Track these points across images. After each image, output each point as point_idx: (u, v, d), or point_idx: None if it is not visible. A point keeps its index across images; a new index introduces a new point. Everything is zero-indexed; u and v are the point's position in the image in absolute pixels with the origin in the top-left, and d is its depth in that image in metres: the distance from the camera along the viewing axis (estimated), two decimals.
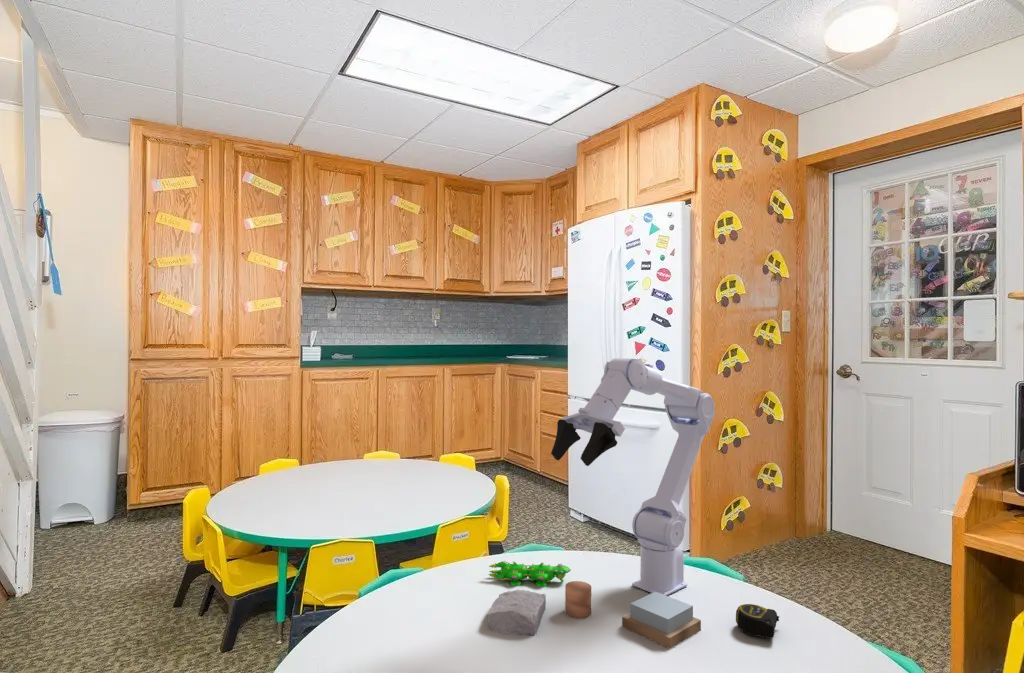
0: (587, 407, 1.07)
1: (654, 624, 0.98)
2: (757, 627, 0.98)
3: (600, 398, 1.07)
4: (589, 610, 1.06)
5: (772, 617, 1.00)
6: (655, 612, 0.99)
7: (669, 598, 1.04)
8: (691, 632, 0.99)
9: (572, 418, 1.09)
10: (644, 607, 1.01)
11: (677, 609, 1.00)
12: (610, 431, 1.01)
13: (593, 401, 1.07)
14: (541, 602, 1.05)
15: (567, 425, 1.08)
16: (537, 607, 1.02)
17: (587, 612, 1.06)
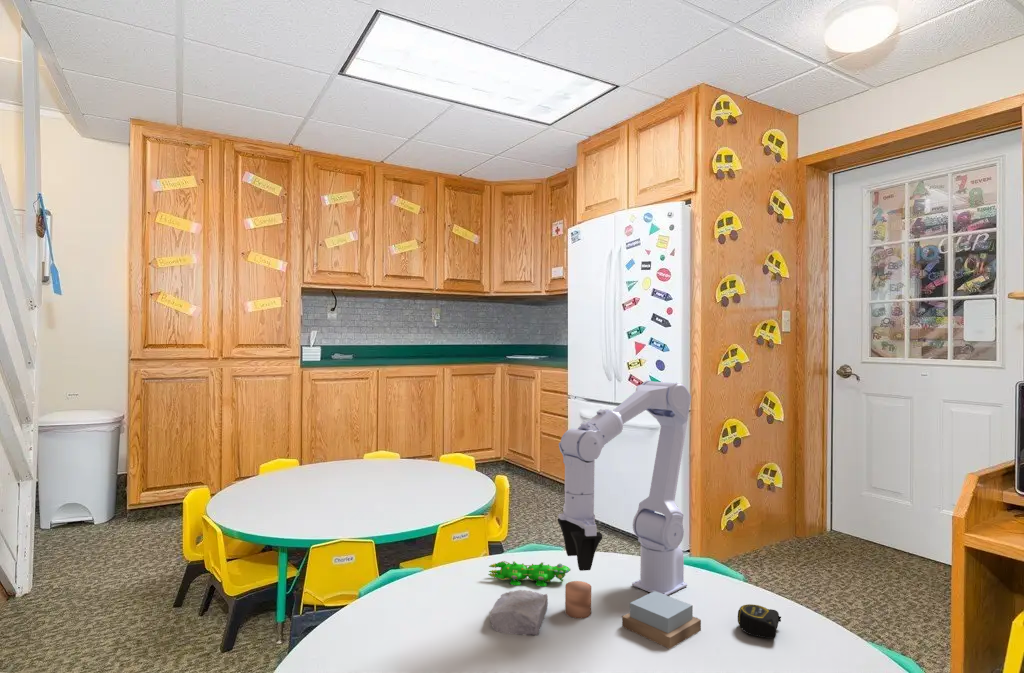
0: (564, 508, 1.08)
1: (654, 623, 0.98)
2: (759, 627, 0.98)
3: (568, 496, 1.07)
4: (589, 610, 1.06)
5: (774, 618, 1.00)
6: (655, 611, 0.99)
7: (669, 597, 1.05)
8: (691, 632, 0.99)
9: None
10: (644, 606, 1.01)
11: (677, 609, 1.00)
12: (585, 536, 1.02)
13: (565, 500, 1.08)
14: (543, 602, 1.05)
15: (564, 523, 1.11)
16: (539, 607, 1.01)
17: (587, 612, 1.06)
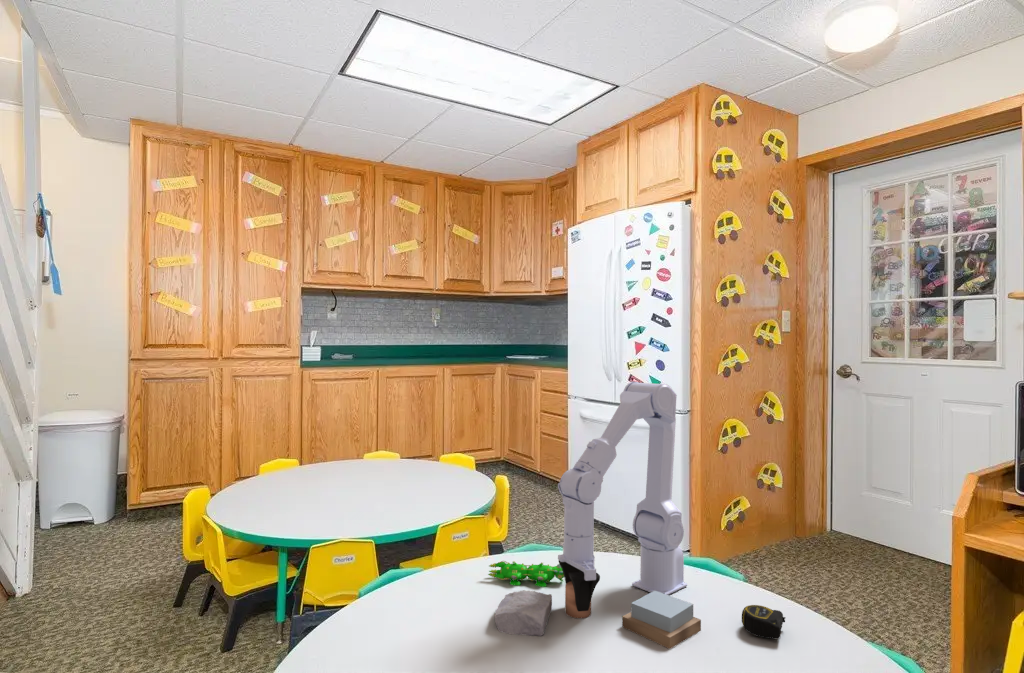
0: (564, 549, 1.08)
1: (656, 623, 0.98)
2: (763, 628, 0.98)
3: (567, 538, 1.07)
4: (589, 610, 1.06)
5: (778, 618, 0.99)
6: (657, 611, 0.99)
7: (669, 597, 1.05)
8: (691, 631, 0.99)
9: None
10: (645, 606, 1.01)
11: (679, 608, 1.00)
12: (583, 578, 1.03)
13: (564, 542, 1.07)
14: (547, 603, 1.05)
15: (565, 565, 1.10)
16: (544, 608, 1.01)
17: (587, 612, 1.06)
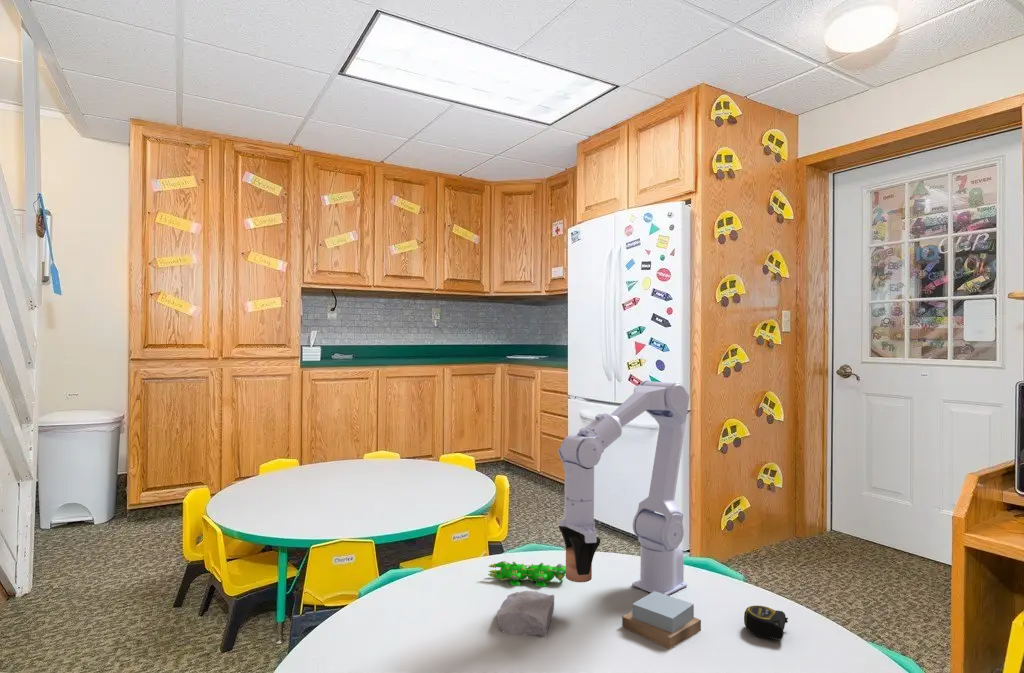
0: (564, 514, 1.08)
1: (658, 624, 0.98)
2: (766, 628, 0.98)
3: (568, 502, 1.07)
4: (589, 574, 1.06)
5: (781, 619, 0.99)
6: (659, 612, 0.99)
7: (669, 597, 1.05)
8: (691, 632, 0.99)
9: None
10: (647, 607, 1.00)
11: (680, 608, 1.00)
12: (583, 541, 1.03)
13: (565, 507, 1.08)
14: (550, 603, 1.05)
15: (566, 531, 1.10)
16: (547, 608, 1.01)
17: (588, 576, 1.06)
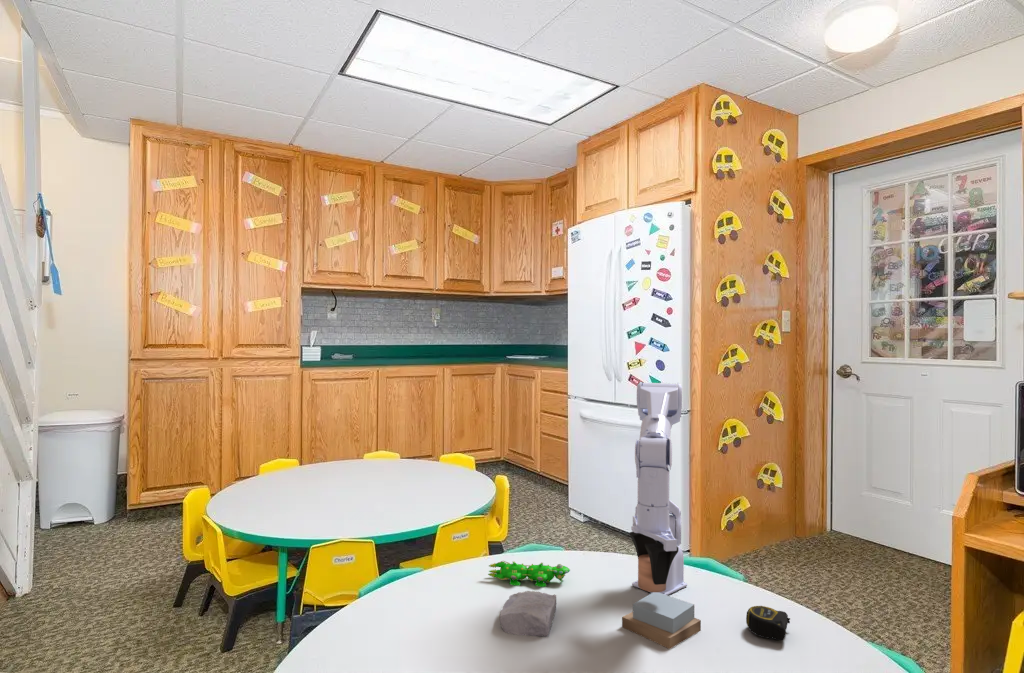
0: (638, 520, 1.03)
1: (658, 624, 0.98)
2: (768, 629, 0.97)
3: (642, 508, 1.01)
4: (664, 584, 1.01)
5: (783, 619, 0.99)
6: (659, 612, 0.99)
7: (670, 597, 1.05)
8: (691, 632, 0.99)
9: None
10: (647, 607, 1.00)
11: (680, 609, 1.00)
12: (661, 549, 0.98)
13: (639, 512, 1.02)
14: (552, 603, 1.05)
15: (638, 538, 1.05)
16: (549, 608, 1.01)
17: (662, 586, 1.00)
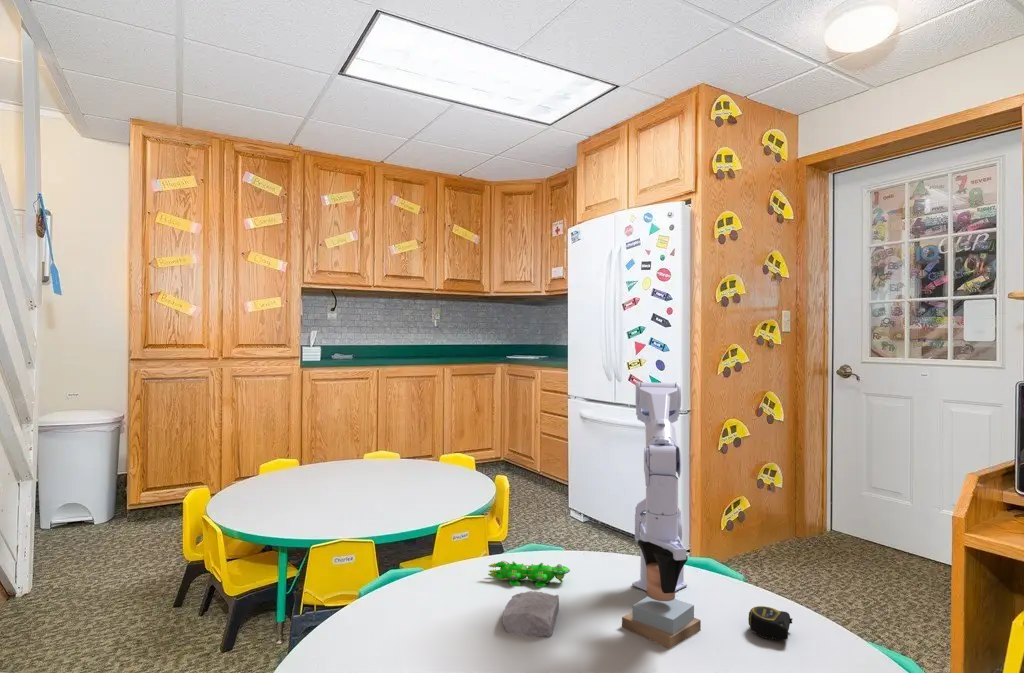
0: (646, 528, 1.02)
1: (658, 625, 0.98)
2: (771, 629, 0.97)
3: (651, 516, 1.01)
4: (673, 593, 1.00)
5: (786, 620, 0.99)
6: (659, 613, 0.98)
7: None
8: (691, 632, 0.99)
9: None
10: (647, 608, 1.00)
11: (680, 609, 1.00)
12: (671, 558, 0.97)
13: (647, 521, 1.02)
14: (555, 603, 1.05)
15: (646, 546, 1.04)
16: (552, 609, 1.01)
17: (671, 595, 1.00)
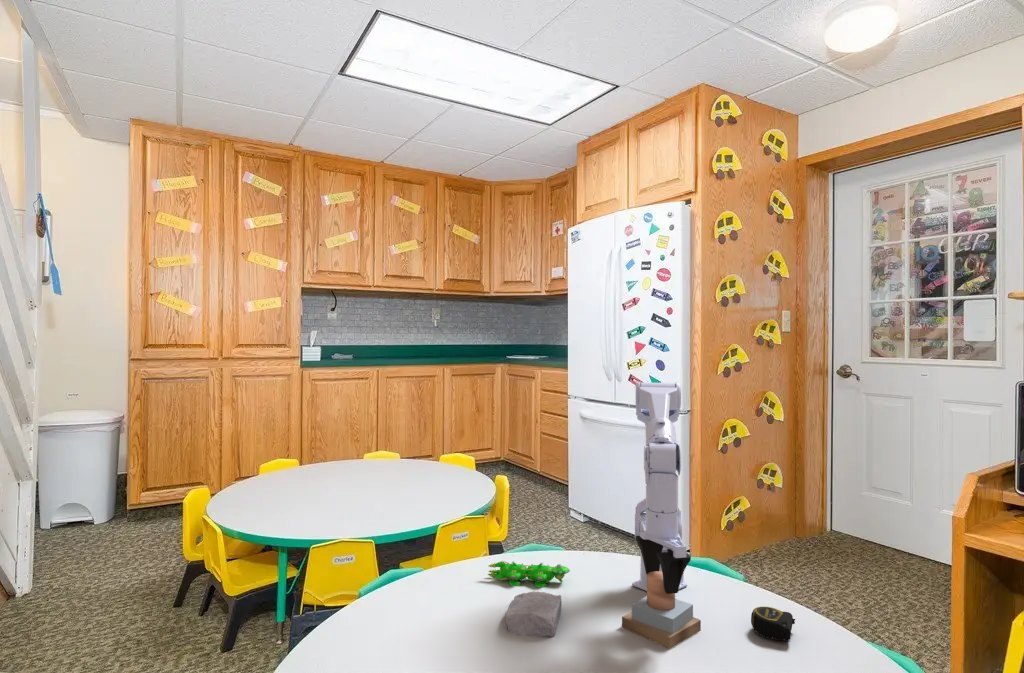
0: (646, 526, 1.02)
1: (658, 625, 0.98)
2: (773, 630, 0.97)
3: (651, 514, 1.01)
4: (673, 602, 1.00)
5: (788, 620, 0.99)
6: (658, 613, 0.98)
7: None
8: (691, 632, 0.99)
9: None
10: (646, 608, 1.00)
11: (679, 609, 1.00)
12: (674, 558, 0.96)
13: (647, 519, 1.02)
14: (558, 604, 1.05)
15: (644, 542, 1.05)
16: (555, 609, 1.01)
17: (671, 604, 1.00)
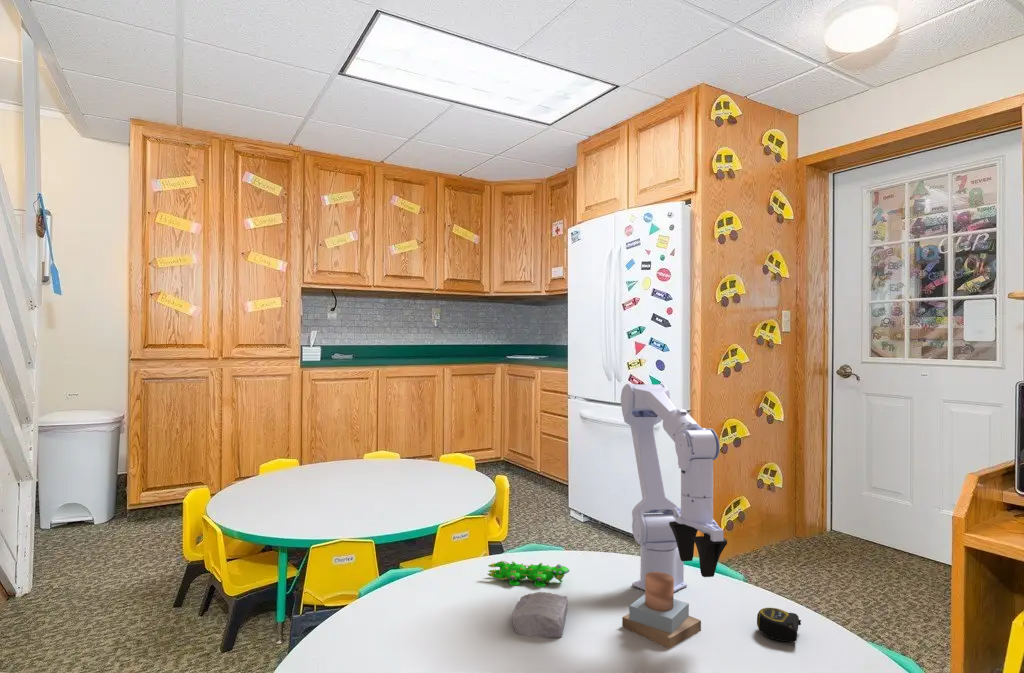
0: (681, 511, 1.04)
1: (656, 625, 0.98)
2: (780, 631, 0.97)
3: (687, 499, 1.02)
4: (670, 603, 1.00)
5: (795, 621, 0.98)
6: (657, 613, 0.98)
7: None
8: (691, 632, 0.99)
9: None
10: (644, 608, 1.00)
11: (676, 608, 1.00)
12: (711, 541, 0.97)
13: (683, 504, 1.03)
14: (564, 604, 1.05)
15: (678, 527, 1.07)
16: (562, 609, 1.01)
17: (668, 605, 1.00)
